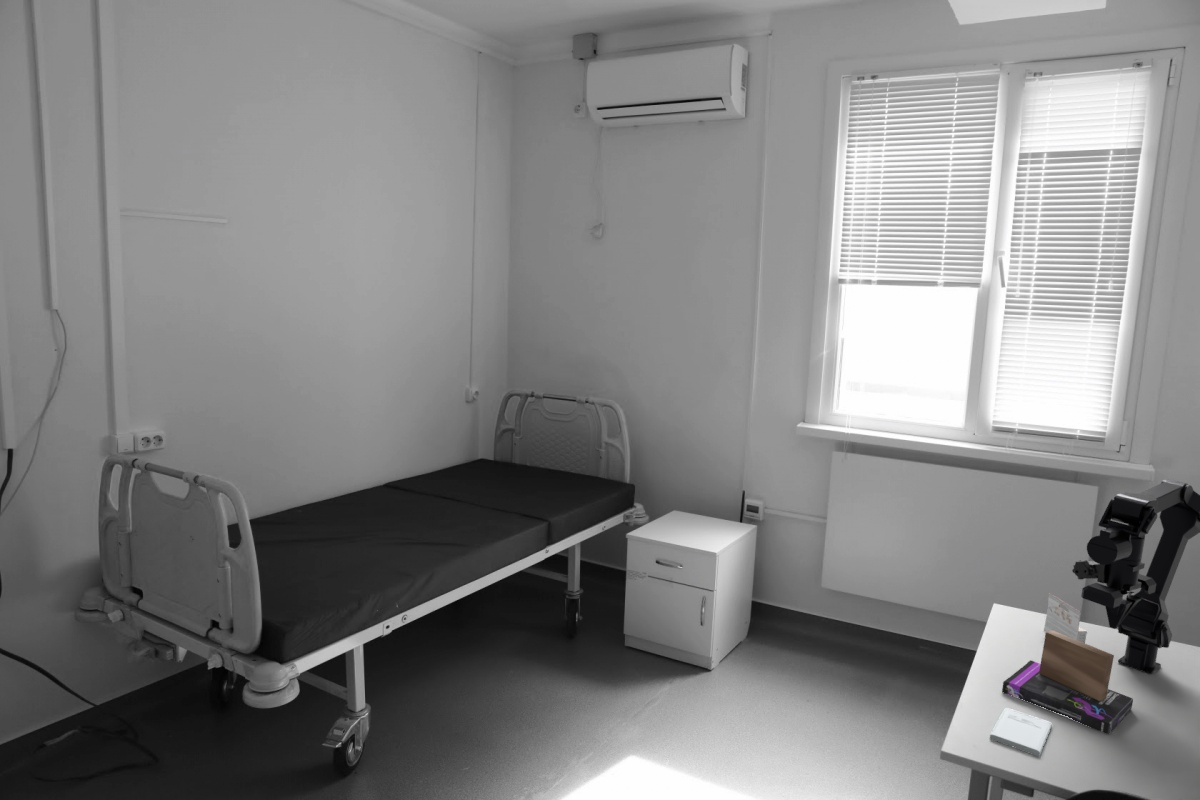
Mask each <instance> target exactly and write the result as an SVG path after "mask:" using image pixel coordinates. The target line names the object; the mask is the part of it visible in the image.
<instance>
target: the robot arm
mask: <svg viewBox="0 0 1200 800" xmlns="http://www.w3.org/2000/svg"><path fill="white" fill-rule="evenodd" d="M1158 513H1160V514H1159V519H1160V523H1161V526H1162V529H1163V530H1162V534H1161V536H1160V539H1159V541H1158V543H1157V546H1156V549H1155V551H1154V554H1153V556H1152V558H1151V562H1150V564H1149V567H1148V570H1147V573H1146V574H1145V575H1144V574H1141V573H1140V570H1142V569H1145V563H1144V562H1142V559H1143V552H1144V545H1145V540H1146V539H1145V538H1146V535H1148V534H1149V532H1150V531H1151V528H1152V527H1153V525H1154V523H1156V520H1157V519H1158ZM1098 527H1101V528H1103V529H1100V530H1099V534H1098V535H1096V536H1095V535H1094V536H1093V537H1091V538H1090V539H1089V541H1088V542H1087V543H1086V552H1087V554H1088V556H1089V558H1090V559H1091V560H1077V561H1075V562H1074V564H1073V569H1072V570H1071V571H1072V573H1073V574H1074V575H1075V576H1077V580H1084V579H1092V580H1093V579H1096V580H1097V581H1096V582H1094V583H1092V584H1089V585H1086V586H1084V587H1082V588H1081V596H1080V597H1081V598H1082V599H1084V600H1087V601H1090V602H1093V603H1096V604H1097V605H1101V606H1103V607H1105V610H1106V615H1107V620H1108V625H1109V628H1111V629H1114V630H1115V629H1117V632H1118V634H1122V635H1125V636H1127V640H1126V646H1125V653H1124V655H1123V656H1122V657H1120V658H1119V659H1118V661H1117V663H1119V664H1122V665H1125V666H1128V667H1129V668H1132V669H1136V670H1138V671H1140V672H1143V673H1147V674H1154V672H1156V671H1157V670H1158V669H1159V668H1161V666H1162V664H1161V663H1159V662H1157V657H1158V652H1159V649H1162V648H1166V649H1168V648H1169V647H1170V643H1171V641H1172V638H1173V633H1172V631H1171V628H1170V626H1169V624H1168V620H1169V613H1168V609H1167V605H1166V599H1167V596H1168V594H1169V591H1170V588H1171V585H1172V584H1173V583H1172V582H1173V580H1174V577H1175V576H1176V572H1177V570H1178V568H1179V565H1180V562H1181V560H1182V557H1183V554H1184V551H1185V549H1186V546H1187V543H1189V540H1190V539H1192V538H1194V537H1195V536H1196V535H1198V534H1200V494H1199V493H1198V492H1197V491H1195V490H1194V488H1193V487H1192V485H1190V484H1188V483H1186V482H1183V481H1182V482H1181V481H1178V480H1174V479H1173V480H1172V479H1169V478H1168V479H1163V480H1162V481H1161V482H1160V483H1159V484H1157V485H1155V486H1152V487H1150V488H1148V489H1145V490H1144V491H1141V492H1138V493H1134V492H1121V493H1117V494H1115V495H1114V497H1112V498H1111V499H1110V501H1109V502H1108V504H1107V506H1106V508H1105V510H1104V512H1103V514H1102V516H1101V518H1100V520H1099V522H1098ZM1104 584H1106V585H1104ZM1138 589H1139V591H1137V592H1136V593H1135V592H1134V591H1135V590H1138Z"/></svg>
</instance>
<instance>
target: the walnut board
mask: <svg viewBox="0 0 1200 800" xmlns="http://www.w3.org/2000/svg"><path fill="white" fill-rule="evenodd" d="M1042 648H1043V649H1042V653H1041V659H1040V663H1039V664H1040V670H1039V674H1041V675H1043V676H1046V677H1048V678H1050V679H1052V680H1054V681H1057V682H1059V683H1061V684H1063V685H1065V686H1068V687H1070V688H1072V689H1074V690H1076V691H1079V692H1081V693H1083V694H1085V695H1087V696H1089V697H1092V698H1094V699H1096V700H1098V701H1101V700H1104V699H1106V696H1107V691H1108V689H1109V685H1110V678H1111V674H1112V673H1111V672H1112V669H1113V668H1112V667H1113V663H1114V658H1115V657H1114V656H1115V655H1114V654H1112V653H1110V652H1107V651H1106V650H1102V649H1100V648H1097V647H1095V646H1093V645H1090V644H1087V643H1086V642H1085V643H1083V642H1080V641H1078V640H1075V639H1073V638H1070V637H1068V636H1065V635H1063V634H1060V633H1058V632H1056V631H1053V630H1051V631H1048V632H1045V636H1044V643H1043V647H1042Z"/></svg>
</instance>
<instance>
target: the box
mask: <svg viewBox="0 0 1200 800" xmlns="http://www.w3.org/2000/svg"><path fill="white" fill-rule="evenodd" d="M1040 664H1041V663H1039V662H1036V661H1033V660H1031V659H1030V660H1029V661H1028V662H1027V663H1026V664H1025V665H1023V666H1022V667H1021V668H1019V669H1018V670H1017V671H1016V672H1014V673H1013V674H1011V676H1010V677H1007V679H1005V680H1004V681H1003V682H1002V688H1001V691H1002V693H1003V692H1004V694H1006V695H1008V694H1009V696H1011V695H1012V696H1011V697H1013V696H1014V698H1016V697H1018V698H1020V699H1023V700H1025V701H1028V702H1031V703H1033V704H1036V705H1038V706H1041V707H1044V708H1046V709H1048V710H1051V711H1054V712H1056V713H1059V714H1062V715H1065V716H1068V717H1069V718H1072V719H1073V720H1075V721H1078V722H1080V723H1082V724H1081V725H1083V724H1084V725H1083V726H1085V725H1087V726H1086V727H1088V726H1089V727H1088V728H1090V727H1091V729H1092V730H1093V729H1094V730H1096V731H1098V732H1101V733H1102V734H1106V735H1107V736H1108V735H1111V733H1112V732H1113V731H1114V730H1115V729H1116V727H1118V725H1119V724H1120V723H1121V722H1122V721H1123V720H1124V719H1125V718H1126V716H1127V715H1129V713H1130V712H1131V711H1132V706H1133V702H1134V698H1133V697H1130V696H1127V695H1124V694H1123V693H1120V692H1117V691H1114V690H1111V689H1109V688H1108V691H1107V696H1106V699H1104V700H1101V701H1098V700H1096V699H1094V698H1092V697H1089V696H1087V695H1085V694H1083V693H1081V692H1079V691H1076V690H1074V689H1072V688H1070V687H1068V686H1065V685H1063V684H1061V683H1059V682H1057V681H1054V680H1052V679H1050V678H1048V677H1046V676H1043V675H1041V674H1039V670H1040ZM1018 698H1017V699H1018ZM1020 699H1019V700H1020ZM1023 700H1022V701H1023ZM1025 701H1024V702H1025ZM1028 702H1027V703H1028ZM1033 704H1032V705H1033ZM1038 706H1037V707H1038ZM1048 710H1047V711H1048ZM1073 720H1072V721H1073ZM1075 721H1074V722H1075ZM1078 722H1077V723H1078ZM1080 723H1079V724H1080Z"/></svg>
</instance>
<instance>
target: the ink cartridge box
mask: <svg viewBox="0 0 1200 800" xmlns="http://www.w3.org/2000/svg"><path fill="white" fill-rule="evenodd" d="M1047 602H1048V603H1047V605H1048V606H1047V611H1046V615H1045V620H1044V621H1045V623H1044V628H1043V631H1044V633H1046V632H1048V631H1051V630H1053V631H1056V632H1058V633H1060V634H1063V635H1065V636H1068V637H1070V638H1073V639H1075V640H1078V641H1080V642H1083V643H1085V644H1086V640H1087V634H1088V632H1087V630H1086V629H1084V628H1082V626H1080V621H1081V613H1082V612H1081V611H1080V610H1079V609H1077V608H1075V607H1073V606H1072V605H1071V604H1068V603H1067V602H1065V601H1064V600H1062V599H1060V598H1059V597H1058V596H1055V595H1053V594H1052V593H1050V592H1048V601H1047ZM1061 605H1063V606H1064V607H1066V609H1067V610H1068V611H1067V610H1065V609H1064V608H1063V607H1061Z"/></svg>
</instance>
